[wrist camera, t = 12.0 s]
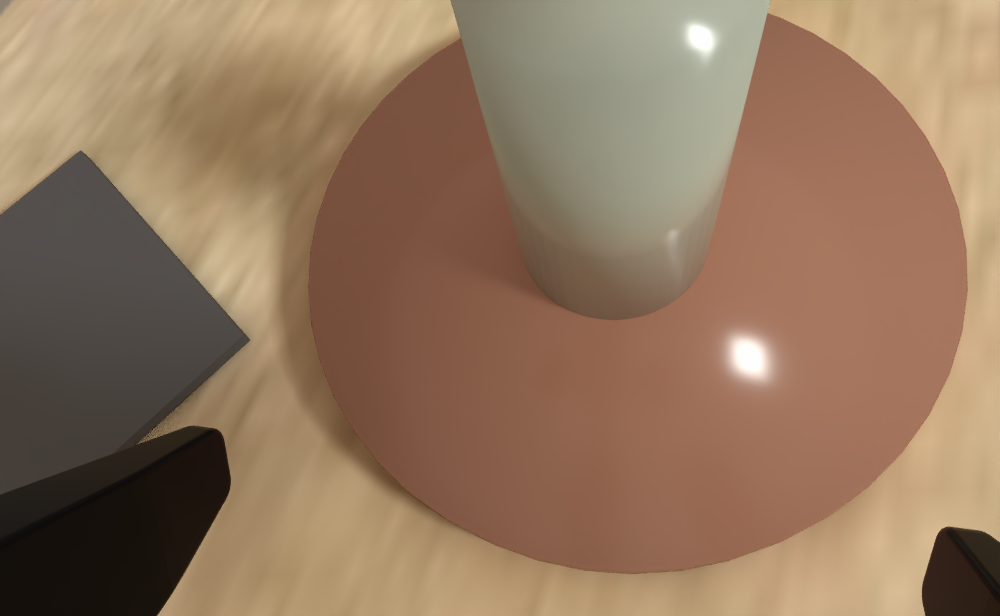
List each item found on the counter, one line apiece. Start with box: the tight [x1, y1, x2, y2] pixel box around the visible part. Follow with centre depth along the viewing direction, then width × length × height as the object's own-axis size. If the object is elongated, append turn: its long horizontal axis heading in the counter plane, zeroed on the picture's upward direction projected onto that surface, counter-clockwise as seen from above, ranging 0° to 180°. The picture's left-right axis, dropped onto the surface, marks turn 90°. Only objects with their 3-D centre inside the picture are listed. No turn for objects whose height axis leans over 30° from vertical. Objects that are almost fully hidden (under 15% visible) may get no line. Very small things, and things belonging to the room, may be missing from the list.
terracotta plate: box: [308, 13, 968, 574], centre depth 19 cm, size 17×17×1 cm
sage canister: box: [451, 0, 771, 320], centre depth 15 cm, size 5×5×9 cm
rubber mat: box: [0, 151, 250, 494], centre depth 22 cm, size 10×10×1 cm
